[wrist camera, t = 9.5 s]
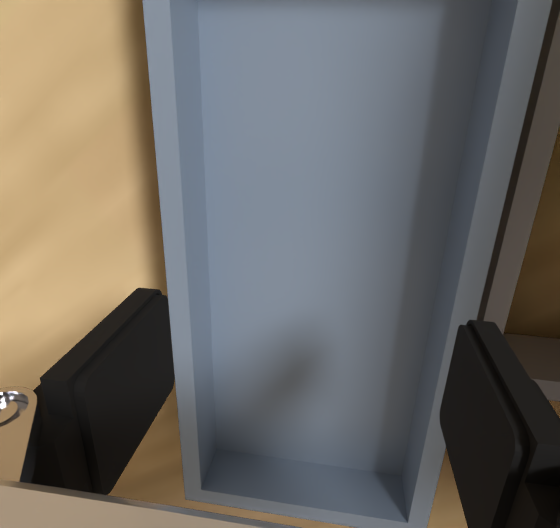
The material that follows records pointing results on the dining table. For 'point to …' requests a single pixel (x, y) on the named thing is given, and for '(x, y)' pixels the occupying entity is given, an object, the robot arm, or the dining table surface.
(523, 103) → the tray
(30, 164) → the dining table surface
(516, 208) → the frame
